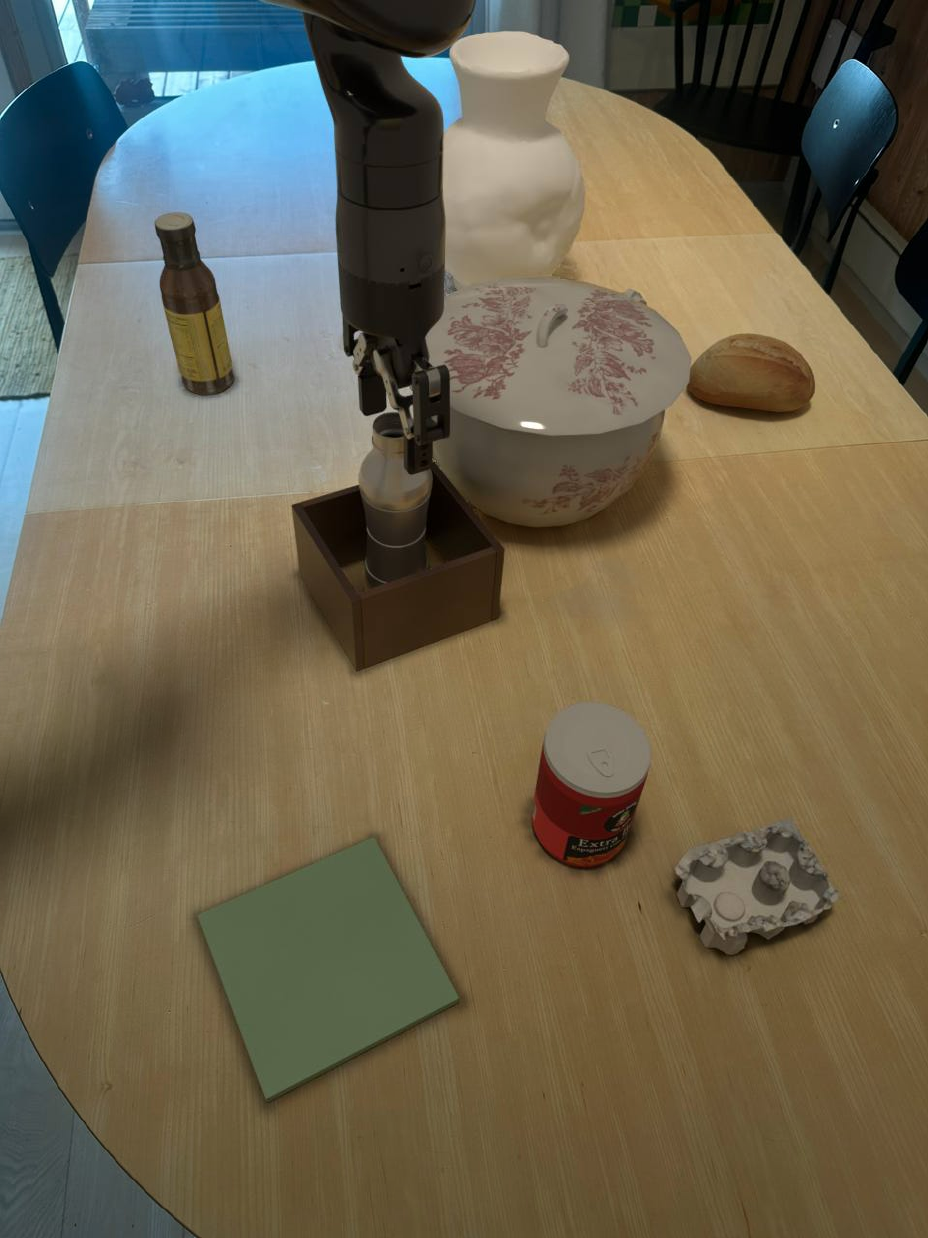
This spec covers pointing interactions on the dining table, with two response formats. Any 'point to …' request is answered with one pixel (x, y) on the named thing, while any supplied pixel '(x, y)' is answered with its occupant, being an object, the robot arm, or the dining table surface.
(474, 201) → the vase
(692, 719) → the dining table surface
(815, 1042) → the dining table surface
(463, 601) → the crate
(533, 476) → the chamber pot
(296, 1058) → the mat
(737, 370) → the bread roll
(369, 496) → the plastic bottle
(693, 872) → the egg carton
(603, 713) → the canned food
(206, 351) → the sauce bottle
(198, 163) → the dining table surface
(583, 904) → the dining table surface
